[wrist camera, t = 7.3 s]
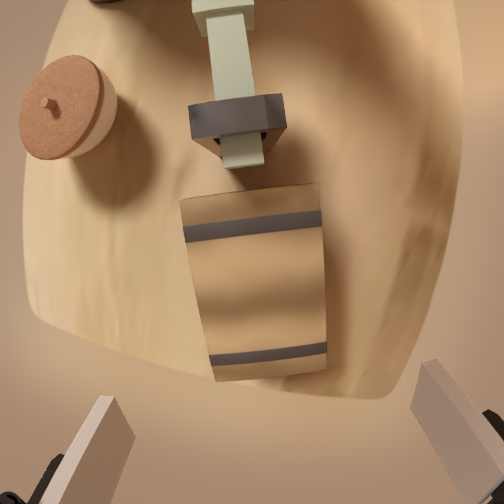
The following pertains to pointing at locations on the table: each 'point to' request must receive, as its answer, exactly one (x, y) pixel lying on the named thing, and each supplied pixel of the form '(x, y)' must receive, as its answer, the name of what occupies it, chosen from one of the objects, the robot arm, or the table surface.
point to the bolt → (231, 68)
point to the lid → (259, 280)
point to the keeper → (238, 120)
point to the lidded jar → (67, 109)
